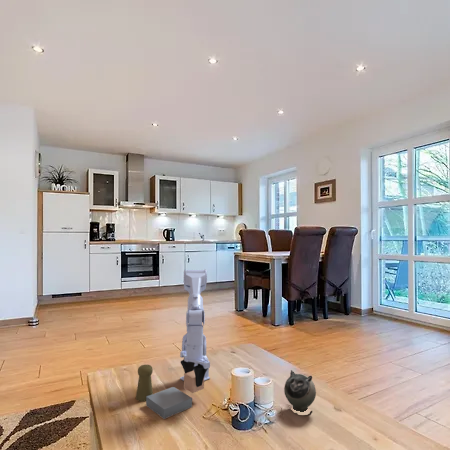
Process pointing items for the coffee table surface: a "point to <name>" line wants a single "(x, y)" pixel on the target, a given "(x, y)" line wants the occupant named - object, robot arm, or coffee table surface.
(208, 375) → the robot arm
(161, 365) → the coffee table surface
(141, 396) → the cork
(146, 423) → the coffee table surface
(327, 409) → the coffee table surface
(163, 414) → the plate
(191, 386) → the tan cube
